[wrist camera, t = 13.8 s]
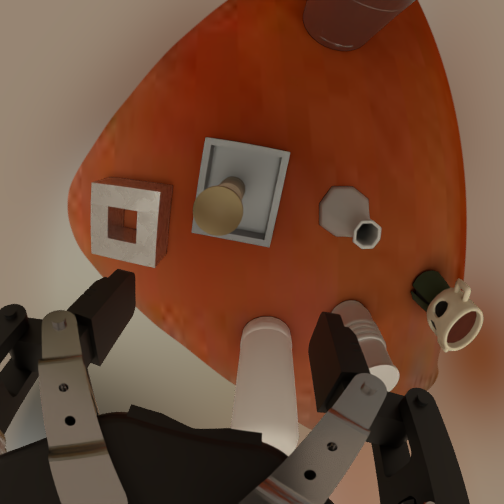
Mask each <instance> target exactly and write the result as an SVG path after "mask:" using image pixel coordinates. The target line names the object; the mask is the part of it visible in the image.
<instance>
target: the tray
mask: <svg viewBox="0 0 504 504" xmlns="http://www.w3.org/2000/svg"><path fill="white" fill-rule="evenodd" d="M289 156H290V152H288V151H283V150H278V149H273V148H269V147H263V146H258V145H253V144H247V143H242V142H236V141H230V140H223V139H216V138H208V137H206V138H205V143H204V149H203V155H202V161H201V168H200V174H199V181H198V188H197V195H196V198H197V197H198V195H199V194H200V193H201V192H203V191H204V190H205V189H207V188H209V187H212V186H218V185H219V184H220V183H221V182H222V181H223V180H225V179H226V178H228V177H238V178H240V179H241V180H242V181H243V182H244V184H245V193H244V196H243V198H242V204H243V216H242V219H241V222H240V224H239V225H238V227H237V228H236V229H235V230H234V231H232V232H231V233H229V234H226V235H222V236H215V235H211V234H208V233H206V232H204V231H203V230H202V229H201V228H200V227H199V226H198V225H197V223H196V221H195V219H194V217H193V225H192V233H197V234H202V235H208V236H213V237H218V238H223V239H229V240H234V241H239V242H244V243H249V244H255V245H260V246H265V247H270V243H271V238H272V234H273V229H274V225H275V220H276V216H277V211H278V207H279V202H280V198H281V193H282V189H283V184H284V179H285V175H286V170H287V165H288V161H289Z"/></svg>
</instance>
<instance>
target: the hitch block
mask: <svg viewBox="0 0 504 504" xmlns="http://www.w3.org/2000/svg"><path fill="white" fill-rule="evenodd" d="M172 192H173V185H168V184H161V183H154V182H147V181H140V180H132V179H125V178H117V177H108V178H104V179H101V180H98V181H95V182H92V189H91V248H92V253H93V254H97V255H101V256H105V257H109V258H114V259H118V260H122V261H126V262H131V263H135V264H140V265H144V266H148V267H153V268H155V267H156V266H157V265H158V263H159V262H160V261H161V260H162V258H163V257H164V256H165V255H166V254H167V243H168V231H169V220H170V210H171V201H172ZM124 209H128V210H134V211H138V214H137V229H133V228H127V227H124Z"/></svg>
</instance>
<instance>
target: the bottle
mask: <svg viewBox="0 0 504 504" xmlns="http://www.w3.org/2000/svg"><path fill="white" fill-rule="evenodd" d="M240 348H241V349H240V357H239V365H238V373H237V381H236V389H235V397H234V405H233V413H232V421H231V429H237V430H244V431H251V432H259V433H262V442H264V443H267V444H269V445H271V446H274V447H275V448H277V449H279V450H281V451H282V452H284V453H285V454H286V455H287V456H289V455H290V454H291V453H292V452H293V451H294V450H295V448H296V445H297V442H298V439H299V431H298V416H297V403H296V391H295V379H294V368H293V357H292V341H291V334H290V329H289V328H288V326H287V325H286V323H284V322H283V321H281V320H280V319H277V318H274V317H259V318H255V319H253V320H252V321H250V322H249V323H247V325H246V326H245V327H244V329H243V334H242V338H241V343H240Z"/></svg>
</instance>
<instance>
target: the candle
mask: <svg viewBox="0 0 504 504" xmlns="http://www.w3.org/2000/svg"><path fill="white" fill-rule="evenodd" d="M332 313H335V314H340V315H341V318H342V321H343V323H344V326H345V327H349V328H350V329H351V330H352V331H353V332H354V333H355V334H356V336H357V339H358V341H359V345H360V346H361V349H362V352H363V354H364V357H365V360H366V362H367V365H368V368H369V370H370V373H371V374H372V375H374V376H376V377H378V378H379V379H381V380H382V381H383V382H384V384H385V386H386V388H387V391H388V392H390V391H391V390H392V389H393V388H394V387H395V385H396V384H397V382H398V380H399V371H398V369H397V368H396V366H394V365H393V363H392V361H391V359H390V357H389V355H388V352H387V350H386V343H385V341H384V339H383V337H382V335H381V333H380V331H379V329H378V327H377V325H376V324H375V322H373V320H372V317H371V314H370V312H369V311H368V310H367V309H366V308H365V307H364V306H363V305H362V304H361V303H360V302H357V301H353V300H349V301H345V302H342V303H340V304H339V305H337V306H336V307H335V308H334V309H333V311H332Z"/></svg>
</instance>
